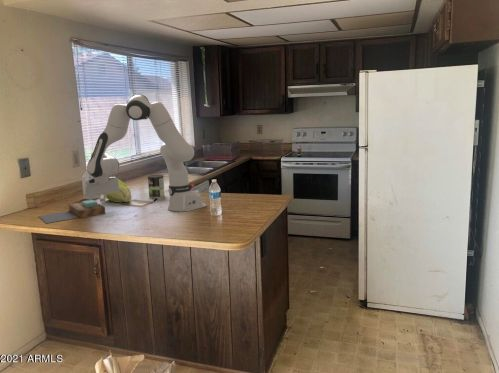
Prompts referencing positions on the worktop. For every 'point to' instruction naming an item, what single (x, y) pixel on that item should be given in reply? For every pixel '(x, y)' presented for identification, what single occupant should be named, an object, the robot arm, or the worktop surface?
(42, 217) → the grey mat
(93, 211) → the board
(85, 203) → the teal block
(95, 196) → the milk carton
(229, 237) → the worktop surface
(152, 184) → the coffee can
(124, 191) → the lettuce
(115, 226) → the worktop surface
